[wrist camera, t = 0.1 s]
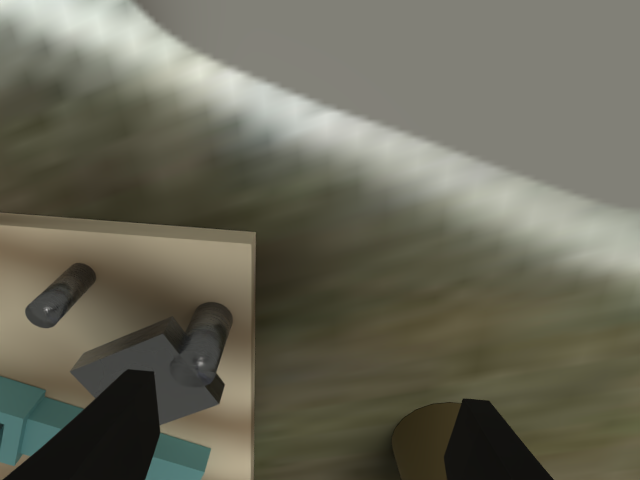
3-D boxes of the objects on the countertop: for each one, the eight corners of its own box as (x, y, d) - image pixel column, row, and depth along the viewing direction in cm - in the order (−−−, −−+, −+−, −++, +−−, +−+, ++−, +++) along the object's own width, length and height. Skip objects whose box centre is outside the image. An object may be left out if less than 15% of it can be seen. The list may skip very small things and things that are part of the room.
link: (-37, 415, 23) (-64, 444, 21) (-32, 366, 21) (-61, 393, 20) (194, 483, 25) (184, 514, 24) (214, 443, 24) (205, 473, 22)
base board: (253, 507, 28) (250, 526, 27) (23, 491, 28) (11, 509, 27) (255, 232, 19) (251, 244, 18) (-83, 206, 19) (-108, 217, 18)
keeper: (164, 362, 23) (128, 436, 19) (77, 255, 20) (11, 315, 16) (255, 326, 22) (238, 397, 17) (176, 208, 19) (132, 259, 15)
